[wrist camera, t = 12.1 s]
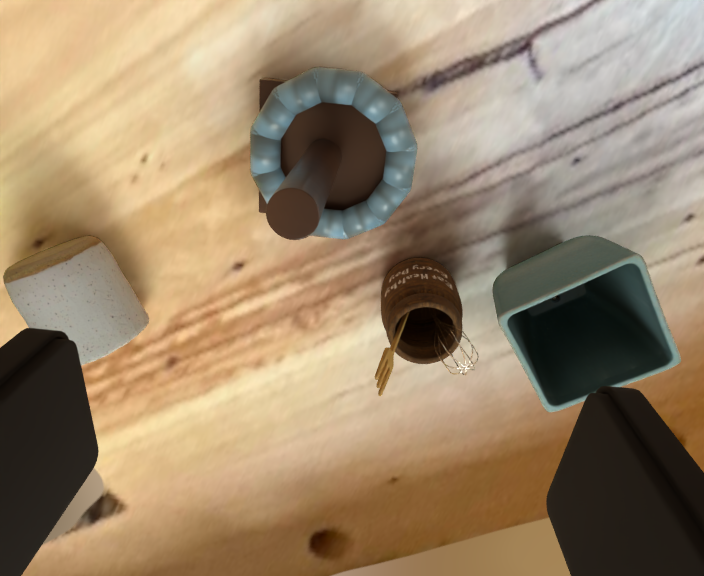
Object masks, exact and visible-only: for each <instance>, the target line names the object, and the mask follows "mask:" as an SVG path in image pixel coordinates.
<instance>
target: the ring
mask: <svg viewBox="0 0 704 576" xmlns="http://www.w3.org/2000/svg"><path fill="white" fill-rule="evenodd" d="M321 102H325V103H335V104H344V105H352V106H353V107H354V108H356V109H357V110H358V111H359V112H361V113H362V114H363V115H365V116H366V117H367V118H369V119H370V120H371V121H373V122H374V123H375V124H376V127H377V129H378V132H379V134H380V136H381V139H382V141H383V144H384V146H385V149H386V158H385V166H384V174H383V179H382V180H381V182H380V183H379V184H378V186H377V187H376V188H375V190H374V191H373V192H372V194H371V195H370V196H369V198H368V199H367V200H366V201H363V202H361V203H359V204H357V205H354V206H352V207H350V208H347V209H345V210H343V211H342V210H332V209H324V210H323V213H322V216H321V218H320V221H319V224H318V226H317V228H316V230H315V231H314V232H313V233H312V234H311V235H309V236H318V237H328V238H337V239H349V238H352V237H354V236H356V235H359V234H361V233H364V232H366V231H369V230H371V229H373V228H376V227H378V226H381V225H383V224H384V223H385V222H386V221H387V220H388V219H389V218H390V216H391V215H392V214H393V213H394V211H395V210H396V209H397V207H398V206H399V205H400V204H401V202H402V201H403V200H404V199H405V197H406V196H407V195H408V194H409V192H410V190H411V187H412V181H413V174H414V168H415V161H416V155H417V142H416V139H415V137H414V134H413V132H412V129H411V126H410V124H409V121H408V119H407V116H406V114H405V111H404V108H403V106H402V104H401V102H400V101H399V100H398V99H397V98H396V97H395V96H393V95H392V94H391V93H389V92H388V91H387V90H386V89H384V88H383V87H382V86H381V85H379V84H378V83H377V82H376V81H374V80H373V79H372V78H370V77H369V76H368V75H367V74H365V73H363V72H361V71H353V70H343V69H334V68H324V67H314V68H312V69H310V70H308V71H306V72H304V73H302V74H300V75H298V76H296V77H294V78H292V79H290V80H288V81H286V82H285V83H283V84H281V85H279V86H277V87H275V88H274V89H273V90H272V92H271V94H270V95H269V97H268V99H267V100H266V102H265V104H264V106H263V107H262V109H261V111H260V112H259V114H258V116H257V118H256V119H255V121H254V123H253V124H252V126H251V130H250V170H251V175H252V177H253V179H254V181H255V183H256V185H257V186H258V188H259V190H260V192H261V194H262V196H263V197H264V199H265V201H266V203H267V204H268V201H269V199H270V198H271V197H272V195H273V194H274V193H275V191H276V190H277V189H278V187H279V186H280V185H281V183H282V182H283V181H284V179H285V178H286V177H285V175H284V173H283V171H282V169H281V167H280V164H281V138H282V137H283V135H284V134H285V132H286V130H287V129H288V127H289V125H290V124H291V122H292V121H293V119H294V117H295V116H296V115H297V114H299V113H301V112H303V111H305V110H307V109H309V108H311V107H313V106H315V105H317V104H319V103H321Z"/></svg>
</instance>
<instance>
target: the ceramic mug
mask: <svg viewBox="0 0 704 576" xmlns="http://www.w3.org/2000/svg"><path fill="white" fill-rule="evenodd" d="M3 278H4V284H5V286H6V289H7V291H8V293H9V296H10V298H11V300H12V302H13V303H14V305H15V306H16V308H17V309H18V311H19V312H20V314H21V315H22V317H23V318H24V320H25V321H26V323H27V325H28V327H29V328H37V329H47V330H57V331H62V332H65V333H66V335H67V336H68V338H69V340H72V341H74V342H75V343H76V346H77V349H78V354H79V359H80V363H81V365H84V364H87V363H90V362H93V361H95V360H97V359H100V358H102V357H104V356H106V355H108V354H110V353H112V352H113V351H115V350H116V349H118V348H120V347H122V346H124V345H125V344H127V343H128V342H129V341H131V340H132V339H133V338H135V337H136V336H137V335H138V334H139V333H140V332H141V331H142V330H144V328H145V327H146V326H147V324H148V322H149V317H148V314H147V313H146V311H145V310H144V308H143V307H142V305H141V303H140V301H139V299H138V298H137V296H136V294H135V292H134V291H133V289H132V288H131V286H130V284H129V283H128V281H127V279H126V278H125V276H124V275H123V273H122V271H121V270H120V268H119V266H118V264H117V262H116V260H115V259H114V257H113V255H112V254H111V252H110V251H109V250H108V249H107V247H106V246H105V245H104V243H103V242H101V241H100V240H99V239H98V238H96V237H94V236H84V237H80V238H76V239H73V240H70V241H68V242H65V243H62V244H59V245H57V246H54V247H52V248H49V249H47V250H44V251H42V252H39V253H37V254H35V255H32V256H30V257H28V258H26V259H24V260H21V261H19V262H17V263H16V264H14V265H12V266H11V267H9V268H8V269H7V270H6V271H5V273H4V276H3Z"/></svg>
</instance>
